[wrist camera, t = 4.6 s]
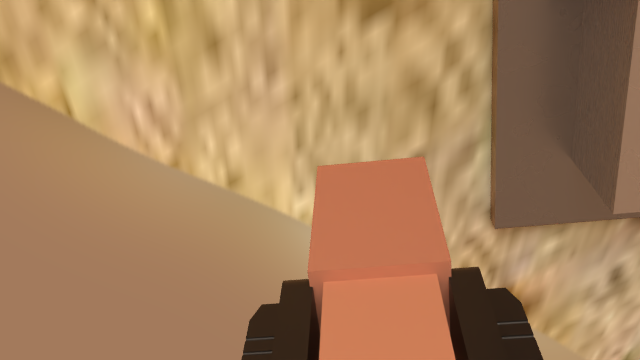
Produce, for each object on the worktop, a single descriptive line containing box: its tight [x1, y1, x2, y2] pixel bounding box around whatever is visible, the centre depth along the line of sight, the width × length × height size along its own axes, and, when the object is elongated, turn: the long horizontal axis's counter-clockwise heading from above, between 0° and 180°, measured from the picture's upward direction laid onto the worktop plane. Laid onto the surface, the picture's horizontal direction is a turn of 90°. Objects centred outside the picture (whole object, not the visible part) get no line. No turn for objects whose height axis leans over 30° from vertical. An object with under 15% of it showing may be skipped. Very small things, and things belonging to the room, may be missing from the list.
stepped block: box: [308, 157, 455, 360], centre depth 14 cm, size 3×3×9 cm
